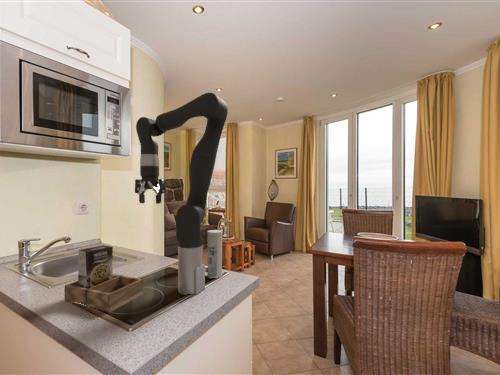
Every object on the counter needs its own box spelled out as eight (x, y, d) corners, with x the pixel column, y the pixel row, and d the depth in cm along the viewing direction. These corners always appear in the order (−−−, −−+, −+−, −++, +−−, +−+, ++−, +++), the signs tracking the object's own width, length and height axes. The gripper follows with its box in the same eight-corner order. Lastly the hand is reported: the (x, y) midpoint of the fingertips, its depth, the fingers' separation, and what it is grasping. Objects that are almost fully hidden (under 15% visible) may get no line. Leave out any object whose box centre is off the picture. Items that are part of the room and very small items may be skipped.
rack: (143, 293, 90) (143, 279, 90) (109, 312, 77) (109, 295, 77) (101, 285, 97) (101, 271, 97) (64, 301, 84) (64, 285, 84)
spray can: (204, 276, 107) (204, 231, 107) (215, 272, 112) (215, 229, 112) (214, 280, 103) (214, 233, 103) (225, 275, 108) (225, 231, 108)
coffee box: (87, 299, 83) (87, 252, 83) (77, 294, 86) (77, 249, 86) (113, 289, 91) (113, 246, 91) (103, 285, 94) (103, 244, 94)
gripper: (169, 165, 105) (169, 203, 105) (143, 166, 110) (143, 202, 110) (157, 164, 98) (157, 204, 98) (129, 165, 103) (130, 203, 103)
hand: (150, 203), depth 104 cm, fingers open, 8 cm apart
